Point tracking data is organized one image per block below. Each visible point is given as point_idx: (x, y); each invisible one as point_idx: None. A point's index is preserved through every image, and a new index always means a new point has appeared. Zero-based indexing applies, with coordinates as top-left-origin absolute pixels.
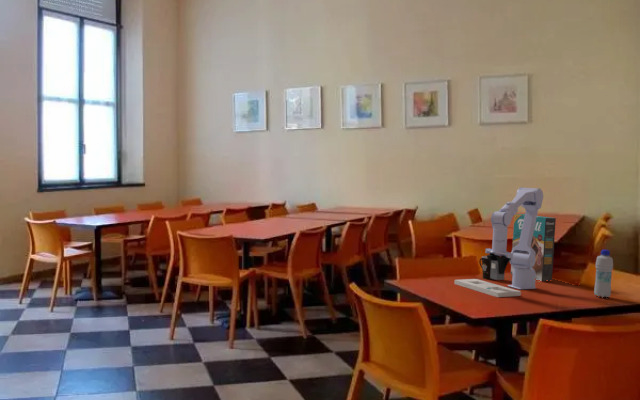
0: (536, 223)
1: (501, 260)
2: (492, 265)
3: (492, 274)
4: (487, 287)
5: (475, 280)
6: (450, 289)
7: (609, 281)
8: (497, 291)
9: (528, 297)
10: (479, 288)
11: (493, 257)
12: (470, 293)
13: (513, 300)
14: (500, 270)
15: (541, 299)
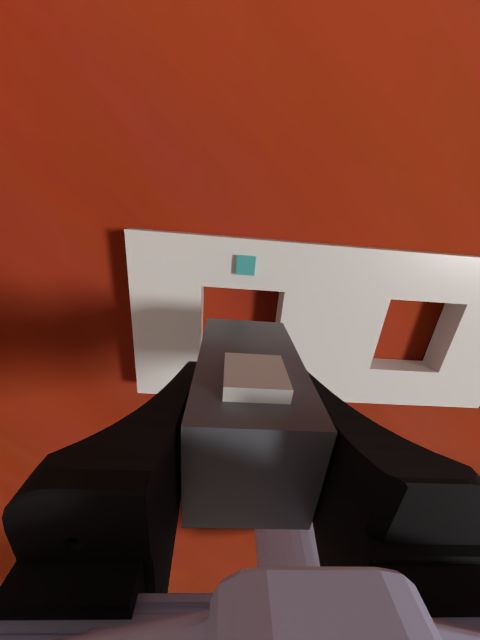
0: None
1: (63, 453)
2: (269, 371)
3: (262, 336)
4: (284, 295)
5: (455, 374)
6: (441, 75)
7: None
8: (161, 260)
9: (104, 387)
10: (304, 243)
11: (352, 513)
12: (279, 128)
13: (41, 256)
14: (176, 378)
15: (56, 409)
